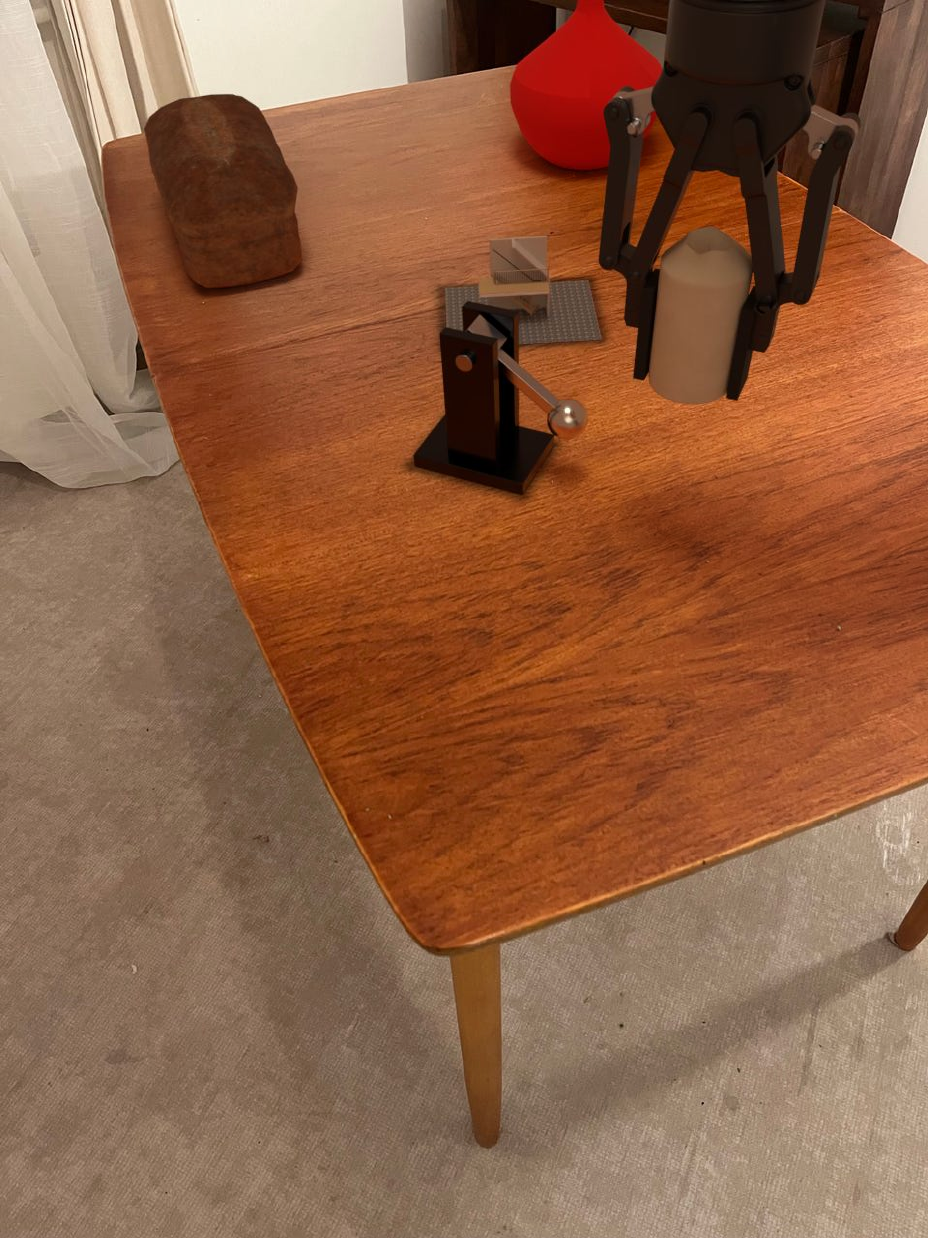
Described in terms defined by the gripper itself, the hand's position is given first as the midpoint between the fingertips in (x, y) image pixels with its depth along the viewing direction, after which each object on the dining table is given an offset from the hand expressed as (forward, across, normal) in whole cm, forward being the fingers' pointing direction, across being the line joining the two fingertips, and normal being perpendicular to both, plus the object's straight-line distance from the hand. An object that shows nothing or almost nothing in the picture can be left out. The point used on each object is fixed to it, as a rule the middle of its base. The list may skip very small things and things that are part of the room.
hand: (690, 377), depth 65 cm
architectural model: (+15, +23, -26) cm, 38 cm away
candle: (+1, 0, 0) cm, 1 cm away
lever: (+8, +14, -4) cm, 17 cm away
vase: (+15, +30, -63) cm, 71 cm away
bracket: (+15, +17, -4) cm, 23 cm away
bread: (+15, +60, -30) cm, 69 cm away
